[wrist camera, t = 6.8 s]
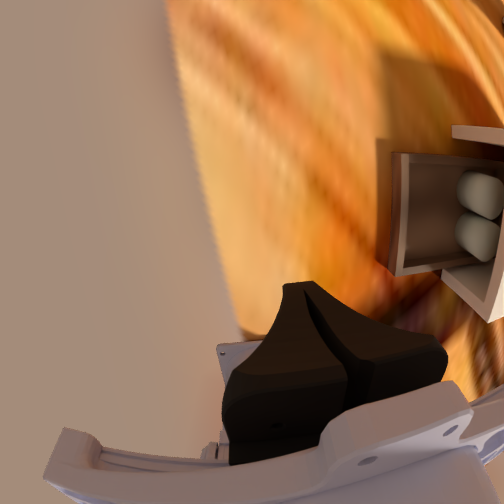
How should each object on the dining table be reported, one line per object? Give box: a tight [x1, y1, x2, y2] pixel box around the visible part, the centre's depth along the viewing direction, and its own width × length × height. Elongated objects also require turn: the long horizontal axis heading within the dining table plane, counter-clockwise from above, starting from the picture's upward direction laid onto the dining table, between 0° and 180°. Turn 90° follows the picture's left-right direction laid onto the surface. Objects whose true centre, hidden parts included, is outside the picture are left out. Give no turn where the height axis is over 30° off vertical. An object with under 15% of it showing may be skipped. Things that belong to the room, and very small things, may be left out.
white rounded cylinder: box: [455, 212, 501, 262], centre depth 20 cm, size 4×4×4 cm
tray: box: [387, 152, 504, 277], centre depth 20 cm, size 10×14×2 cm
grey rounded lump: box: [457, 170, 504, 220], centre depth 18 cm, size 4×4×4 cm
